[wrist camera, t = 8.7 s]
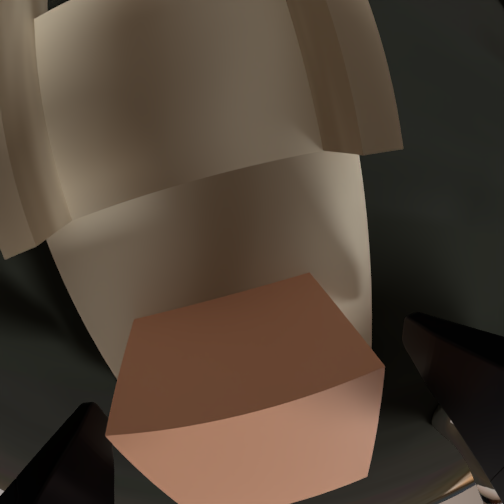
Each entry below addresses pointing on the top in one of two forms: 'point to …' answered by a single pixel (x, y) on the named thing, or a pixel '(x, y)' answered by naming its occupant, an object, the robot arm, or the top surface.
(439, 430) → the beer glass
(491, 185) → the top surface
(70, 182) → the beige open frame tray
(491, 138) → the top surface
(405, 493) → the top surface
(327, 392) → the block
